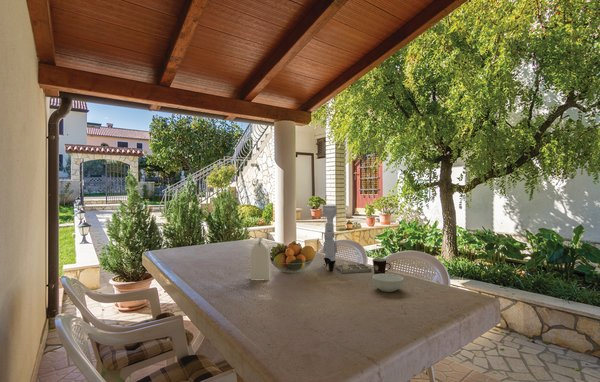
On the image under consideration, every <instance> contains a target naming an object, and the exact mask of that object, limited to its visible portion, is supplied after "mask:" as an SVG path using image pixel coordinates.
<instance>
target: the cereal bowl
mask: <svg viewBox="0 0 600 382" xmlns="http://www.w3.org/2000/svg"><path fill="white" fill-rule="evenodd" d="M404 280H405V279H404V277H403V276H402V275H399V274H393V273H385V274H373V275H372V277H371V281H372V284H373V286H374V287H376V288H377V289H379V290H380V291H382V292H385V293H386V292H388V293H393V292H395V291H397V290H400V289H401V288H403V286H404Z"/></svg>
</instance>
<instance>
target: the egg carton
mask: <svg viewBox="0 0 600 382" xmlns="http://www.w3.org/2000/svg"><path fill="white" fill-rule="evenodd" d="M335 266H336V270H338V271H339V272H340V273H341V274H353V273H369V272H370V273H371V272H372V268H371V267H369V266H368V265H367V264H365V263H355V264H354V263H353V264H348V266H349V269H347V270H343V269H342V266H343V264H336V265H335Z"/></svg>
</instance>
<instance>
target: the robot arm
mask: <svg viewBox="0 0 600 382" xmlns="http://www.w3.org/2000/svg"><path fill="white" fill-rule="evenodd" d="M337 206H338V205H337V204H323V205H322V213H323V217H325V218H326V223H325V226H324V233H323V235H324V237H323V239H324V242H323V253H324V254H325V255H323V260H324V264H326V265H325V267H327V264H328V265H329V271H328V272H333V271H334V267H335V266H336V265H335V264H336V254H337V252H338V242H337V241H336V240H335V231H334V230H335V229H334V226H335V225H334V218H335V217H336V216H337V211H338V208H337Z"/></svg>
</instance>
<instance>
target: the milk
mask: <svg viewBox="0 0 600 382" xmlns="http://www.w3.org/2000/svg"><path fill="white" fill-rule="evenodd" d="M250 250H251V251H250V279H264V280H269V279H270V280H271V277H272V266H271V265H272V263H271V248H270V246H269V245H268V244H267V242H266V241H264V240H263V235H259V237H258V242H257V241H256V242H255V243H254V244H253V247H252V248H251V249H250ZM270 276H271V277H270ZM270 280H269V281H270Z"/></svg>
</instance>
